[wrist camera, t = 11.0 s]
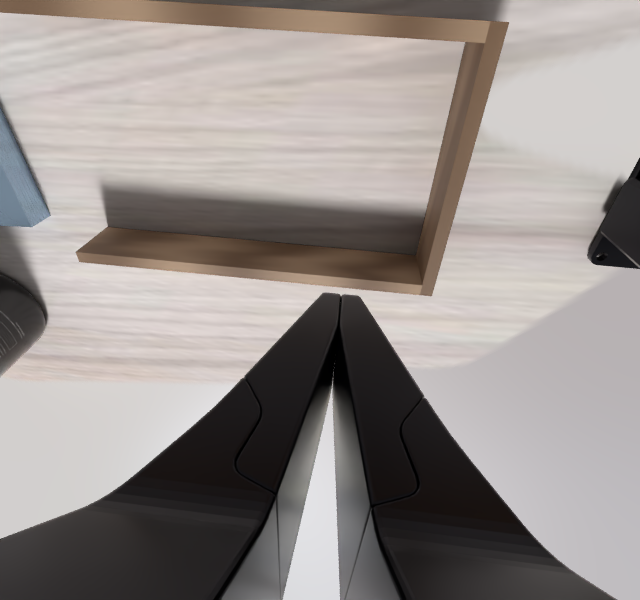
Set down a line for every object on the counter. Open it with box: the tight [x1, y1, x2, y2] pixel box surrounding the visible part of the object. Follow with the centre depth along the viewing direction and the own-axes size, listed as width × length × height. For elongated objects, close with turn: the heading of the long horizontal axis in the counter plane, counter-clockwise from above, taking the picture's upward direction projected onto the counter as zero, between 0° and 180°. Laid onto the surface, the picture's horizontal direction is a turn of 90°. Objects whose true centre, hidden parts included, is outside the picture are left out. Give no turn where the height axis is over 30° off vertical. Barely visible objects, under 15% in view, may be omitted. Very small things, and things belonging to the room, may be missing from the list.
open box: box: [0, 0, 509, 296], centre depth 17 cm, size 19×11×3 cm, turn 87°
